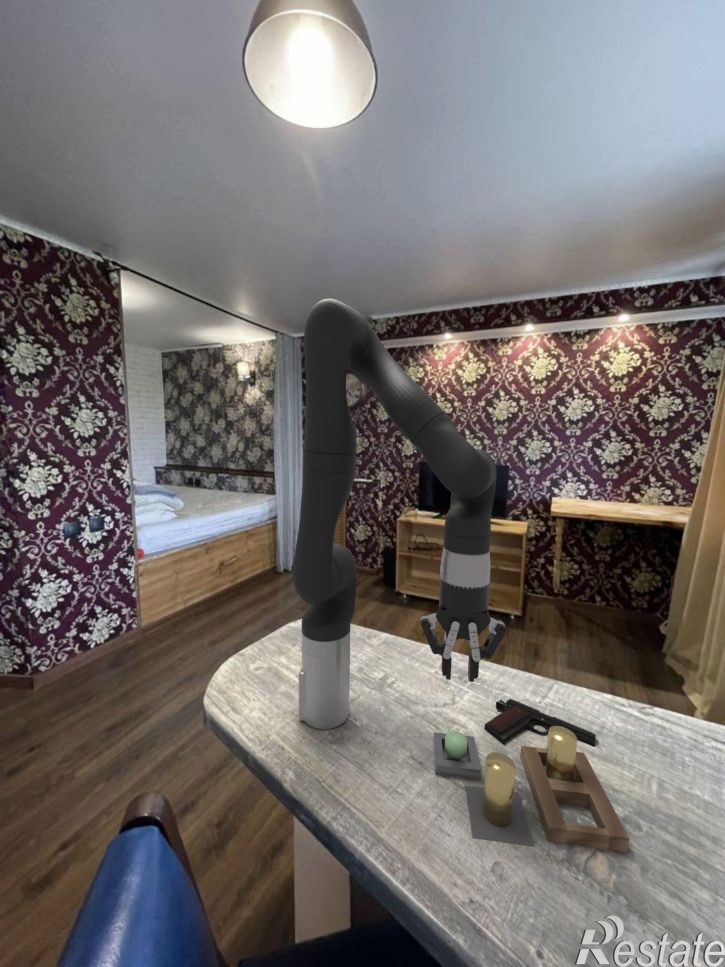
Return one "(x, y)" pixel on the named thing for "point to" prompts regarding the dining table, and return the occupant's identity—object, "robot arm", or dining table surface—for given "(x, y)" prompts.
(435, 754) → the button housing
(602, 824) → the brown wooden rectangular frame
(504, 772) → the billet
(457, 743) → the button
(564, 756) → the billet seated
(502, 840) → the mat
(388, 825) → the dining table surface
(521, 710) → the handgun
